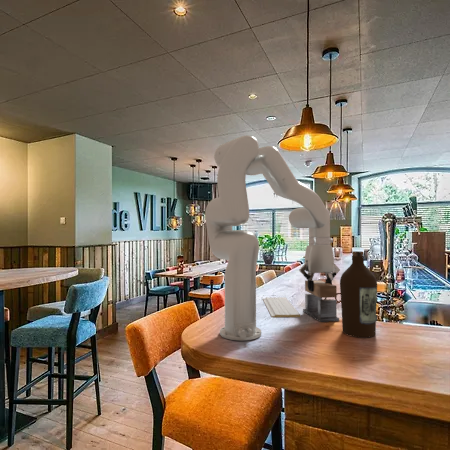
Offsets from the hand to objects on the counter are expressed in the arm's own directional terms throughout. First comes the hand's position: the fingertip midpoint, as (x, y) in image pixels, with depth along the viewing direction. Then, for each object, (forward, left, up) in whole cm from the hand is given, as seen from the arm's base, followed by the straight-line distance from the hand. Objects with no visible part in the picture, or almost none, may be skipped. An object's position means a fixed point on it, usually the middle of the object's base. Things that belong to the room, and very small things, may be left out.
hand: (319, 290), depth 120 cm
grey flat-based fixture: (0, 0, -9) cm, 10 cm away
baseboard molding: (+16, +11, -10) cm, 22 cm away
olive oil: (-21, -3, -10) cm, 23 cm away
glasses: (+18, -11, -10) cm, 24 cm away
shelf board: (0, 0, -1) cm, 1 cm away
